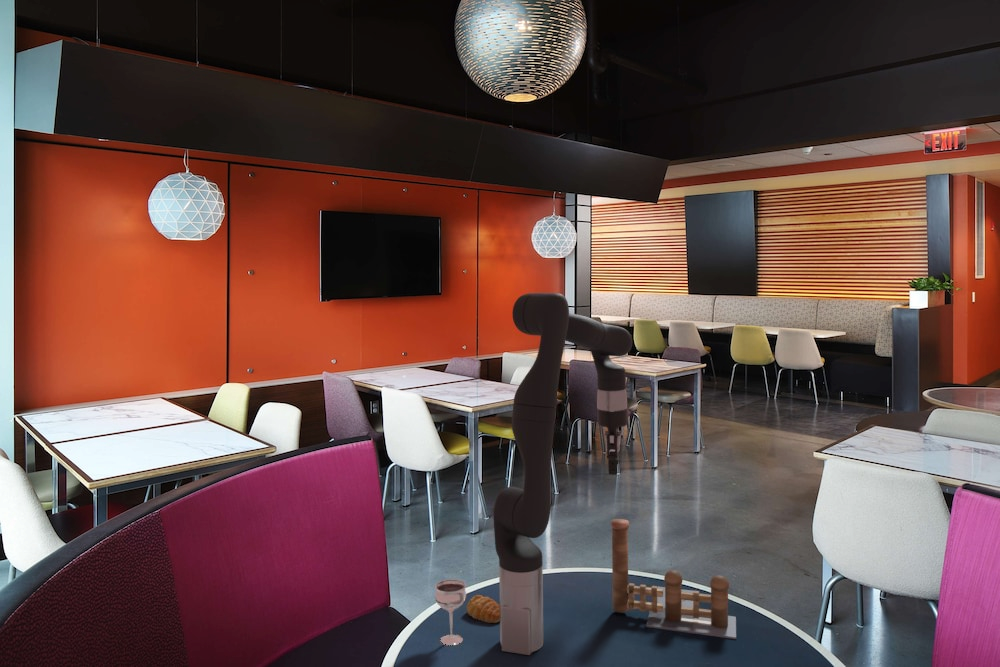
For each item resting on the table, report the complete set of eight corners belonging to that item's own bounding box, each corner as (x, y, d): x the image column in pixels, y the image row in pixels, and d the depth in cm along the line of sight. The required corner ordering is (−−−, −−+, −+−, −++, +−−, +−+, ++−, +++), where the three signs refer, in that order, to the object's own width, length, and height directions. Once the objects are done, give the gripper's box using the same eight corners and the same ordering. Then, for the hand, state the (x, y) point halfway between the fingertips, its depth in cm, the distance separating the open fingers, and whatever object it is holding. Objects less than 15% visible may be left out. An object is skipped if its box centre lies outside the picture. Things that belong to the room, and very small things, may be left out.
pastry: (511, 617, 160) (511, 601, 160) (491, 628, 155) (490, 612, 155) (483, 605, 167) (482, 590, 166) (462, 615, 162) (462, 599, 162)
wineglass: (447, 651, 145) (446, 595, 144) (429, 639, 150) (428, 585, 150) (473, 640, 149) (472, 586, 149) (455, 629, 155) (454, 576, 154)
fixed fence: (728, 631, 152) (729, 580, 151) (663, 622, 156) (663, 573, 156) (728, 623, 156) (729, 573, 155) (665, 615, 160) (665, 566, 159)
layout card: (736, 639, 148) (736, 636, 148) (646, 626, 154) (646, 624, 154) (735, 597, 169) (735, 595, 169) (656, 587, 175) (656, 585, 175)
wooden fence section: (663, 610, 160) (663, 522, 159) (662, 618, 156) (662, 528, 155) (613, 604, 164) (612, 518, 163) (610, 611, 160) (609, 523, 159)
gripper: (598, 400, 183) (600, 460, 184) (595, 412, 169) (597, 477, 170) (627, 400, 181) (629, 461, 183) (626, 412, 167) (628, 477, 169)
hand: (613, 469), depth 176 cm, fingers open, 8 cm apart
